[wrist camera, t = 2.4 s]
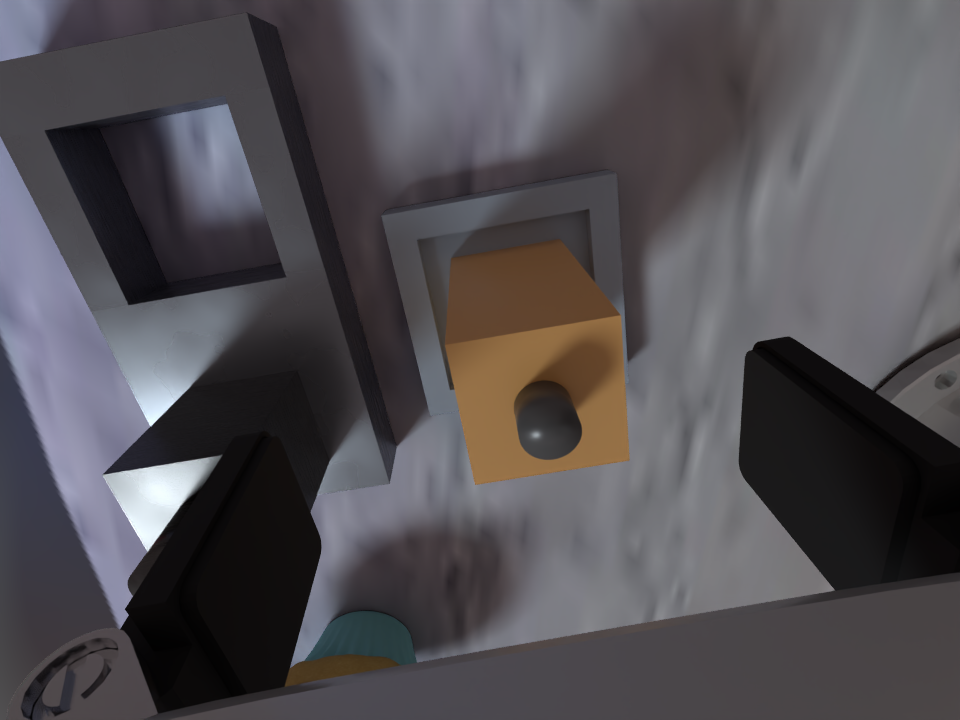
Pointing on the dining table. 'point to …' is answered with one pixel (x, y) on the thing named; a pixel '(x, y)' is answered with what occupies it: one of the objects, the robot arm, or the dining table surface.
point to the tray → (492, 226)
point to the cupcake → (355, 648)
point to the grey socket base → (206, 300)
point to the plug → (535, 363)
